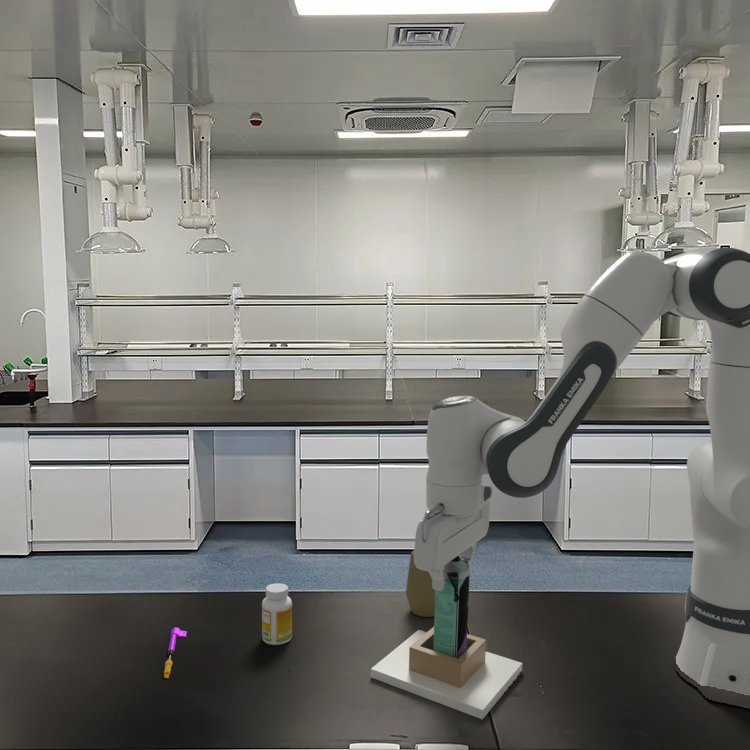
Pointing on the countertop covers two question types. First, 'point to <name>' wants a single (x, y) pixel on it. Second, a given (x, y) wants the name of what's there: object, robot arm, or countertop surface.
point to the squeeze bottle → (420, 591)
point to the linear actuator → (172, 649)
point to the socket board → (449, 673)
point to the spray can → (452, 610)
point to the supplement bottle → (276, 615)
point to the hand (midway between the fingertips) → (452, 578)
